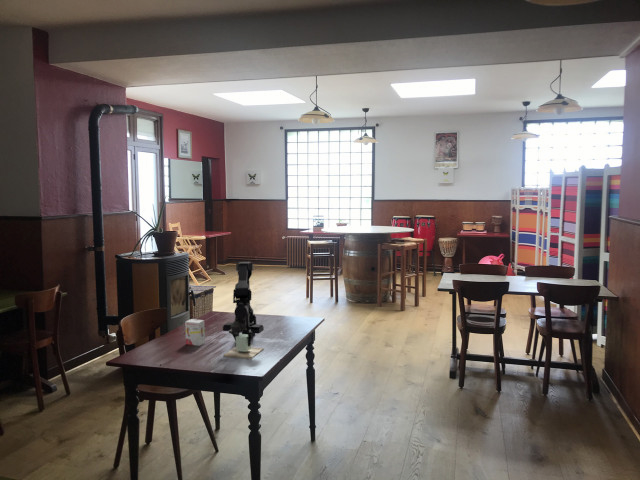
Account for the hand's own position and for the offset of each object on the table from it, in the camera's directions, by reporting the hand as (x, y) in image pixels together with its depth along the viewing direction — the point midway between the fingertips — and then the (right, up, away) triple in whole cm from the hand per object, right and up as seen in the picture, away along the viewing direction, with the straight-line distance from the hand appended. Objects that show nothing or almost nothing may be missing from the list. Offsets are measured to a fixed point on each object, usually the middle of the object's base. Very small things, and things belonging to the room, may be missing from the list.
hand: (243, 345), depth 243 cm
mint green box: (0, -2, 0) cm, 2 cm away
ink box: (-26, -3, +16) cm, 31 cm away
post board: (0, -4, 0) cm, 4 cm away
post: (0, -4, 0) cm, 4 cm away
